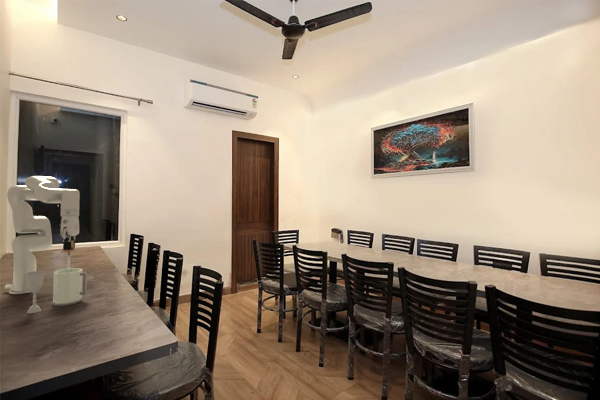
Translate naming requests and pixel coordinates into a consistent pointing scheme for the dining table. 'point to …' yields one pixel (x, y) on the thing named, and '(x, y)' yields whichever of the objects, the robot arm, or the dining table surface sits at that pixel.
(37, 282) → the chalice
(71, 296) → the press carafe
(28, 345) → the dining table surface
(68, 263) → the plunger
